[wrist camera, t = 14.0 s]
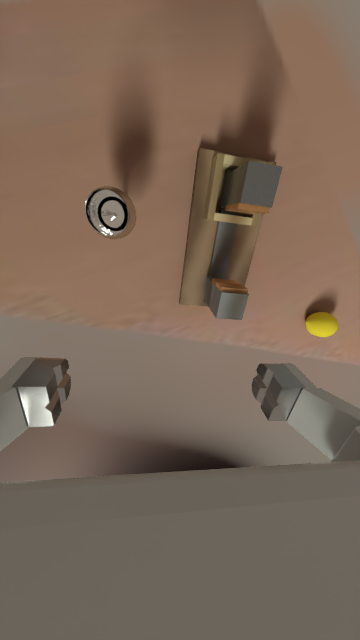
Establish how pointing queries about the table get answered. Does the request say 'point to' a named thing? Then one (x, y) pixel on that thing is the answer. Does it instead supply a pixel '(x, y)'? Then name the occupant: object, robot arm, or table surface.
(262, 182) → the grey metal slab
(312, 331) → the lemon
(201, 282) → the rail
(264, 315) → the table surface
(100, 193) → the wineglass
